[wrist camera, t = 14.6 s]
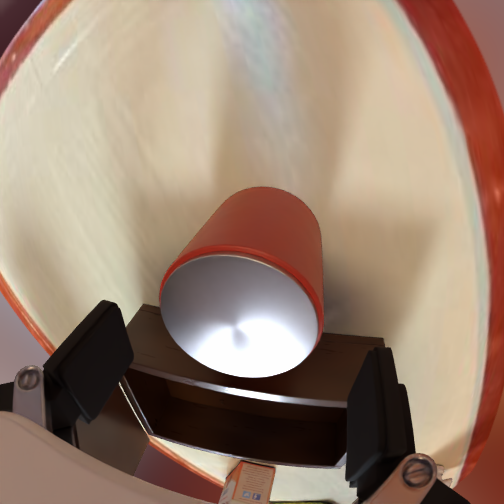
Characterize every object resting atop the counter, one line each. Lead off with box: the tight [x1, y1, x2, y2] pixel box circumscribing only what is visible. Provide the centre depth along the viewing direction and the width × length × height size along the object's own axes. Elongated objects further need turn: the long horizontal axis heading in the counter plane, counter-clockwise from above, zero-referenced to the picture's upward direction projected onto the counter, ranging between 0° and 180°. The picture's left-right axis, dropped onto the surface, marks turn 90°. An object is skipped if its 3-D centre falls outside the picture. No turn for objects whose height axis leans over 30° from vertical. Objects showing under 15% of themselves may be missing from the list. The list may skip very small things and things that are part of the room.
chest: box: [120, 304, 385, 469], centre depth 21 cm, size 19×13×6 cm
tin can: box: [159, 187, 324, 377], centre depth 14 cm, size 7×7×8 cm
